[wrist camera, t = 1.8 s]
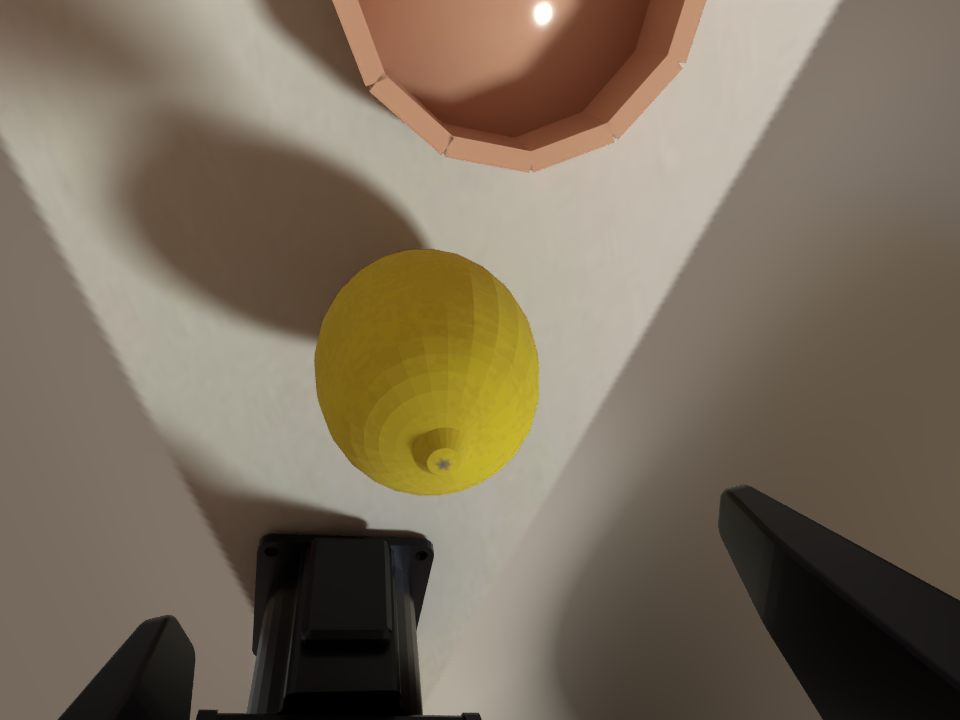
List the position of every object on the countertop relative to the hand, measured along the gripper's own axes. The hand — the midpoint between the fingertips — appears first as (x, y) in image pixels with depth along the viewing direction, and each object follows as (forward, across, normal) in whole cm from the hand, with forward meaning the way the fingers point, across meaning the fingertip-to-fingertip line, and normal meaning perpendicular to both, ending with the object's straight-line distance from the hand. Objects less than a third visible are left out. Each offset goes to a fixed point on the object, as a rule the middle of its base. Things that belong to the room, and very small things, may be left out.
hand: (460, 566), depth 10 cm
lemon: (+11, 0, 0) cm, 11 cm away
